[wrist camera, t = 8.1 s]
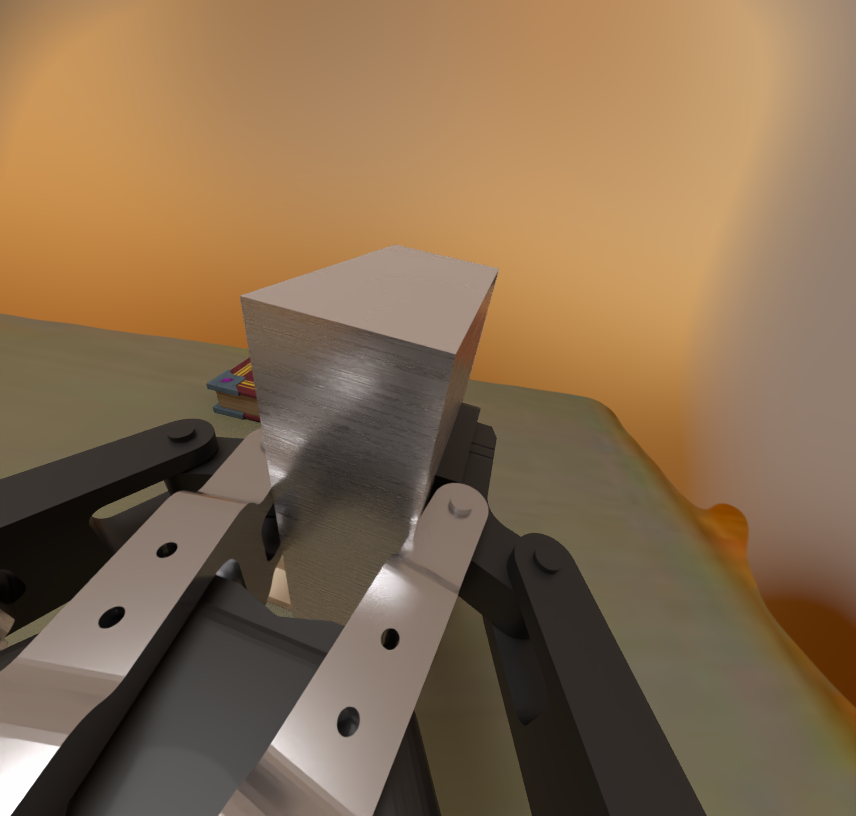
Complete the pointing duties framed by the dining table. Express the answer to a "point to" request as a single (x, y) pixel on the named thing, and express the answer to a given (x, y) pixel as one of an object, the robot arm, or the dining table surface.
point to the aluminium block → (359, 408)
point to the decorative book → (236, 392)
